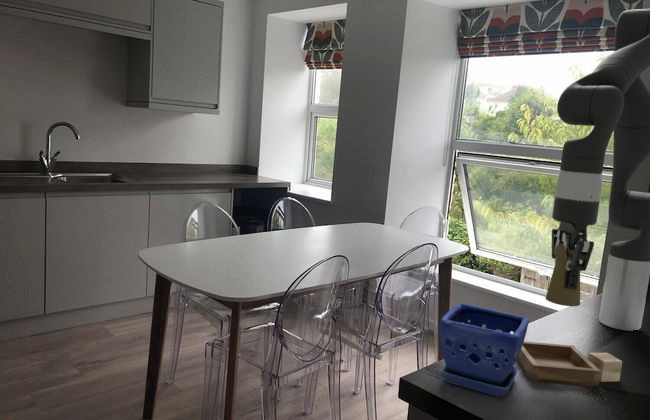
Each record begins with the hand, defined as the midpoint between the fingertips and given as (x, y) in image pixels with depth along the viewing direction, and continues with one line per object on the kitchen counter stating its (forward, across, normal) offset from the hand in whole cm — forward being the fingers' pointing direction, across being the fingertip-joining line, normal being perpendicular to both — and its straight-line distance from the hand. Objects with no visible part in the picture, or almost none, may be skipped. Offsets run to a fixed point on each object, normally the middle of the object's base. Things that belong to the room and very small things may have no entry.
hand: (564, 286), depth 102 cm
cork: (+3, 0, 0) cm, 3 cm away
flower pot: (+17, -8, +16) cm, 25 cm away
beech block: (+17, -1, -9) cm, 19 cm away
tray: (+16, 0, 0) cm, 16 cm away
